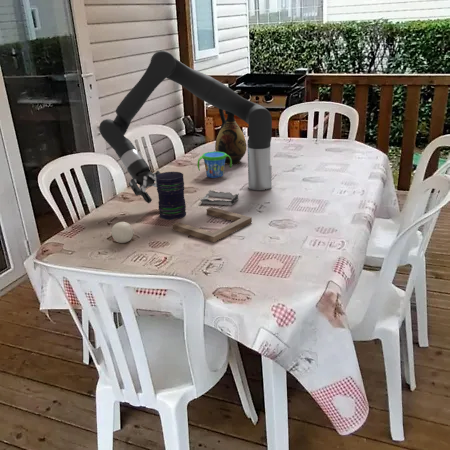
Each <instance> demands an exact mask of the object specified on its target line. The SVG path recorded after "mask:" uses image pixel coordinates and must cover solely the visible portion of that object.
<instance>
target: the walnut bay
mask: <svg viewBox="0 0 450 450" xmlns="http://www.w3.org/2000/svg"><path fill="white" fill-rule="evenodd" d="M206 215H209V216H212V217H217V218H219V219H223V220H227V221H230V220H232V221H231V223H229V224H227V225H225V226H223V227H221V228H218V229H217V230H215V231H213V232H212V231H209V230H205V229H203V228H200V227H195V226H192V225H189V224H186V223H183V222H179V221H177V222H174V223H173V224H171V226H172V230H173V231H176V232H179V233H181V234H185V235H188V236H192V237H195V238H198V239H201V240H204V241H207V240H208V241H207V242H210V241H211V243H213V242H214V243H216V242H218V241H220V240H222V239H223V237H224V238H226V237H228V236H230V235H231V234H233V233H235V232H237V231H239V230H241V229H242V227H243V228H245V227H246V225H247V226H249V225H251V224H252V223H253V222H252V220H253V219H252V217H251V216H248V215H245V214H240V213H236V212H232V211H228V210H224V209H221V208H217V207H214V206H210V207H208V208H207V209H206ZM234 221H235V222H234ZM251 222H252V223H251ZM248 224H249V225H248ZM244 226H245V227H244ZM240 228H241V229H240ZM238 229H239V230H238ZM236 230H237V231H236ZM234 231H235V232H234ZM232 232H233V233H232ZM230 233H231V234H230ZM229 234H230V235H229ZM227 235H228V236H227ZM225 236H226V237H225ZM221 238H222V239H221ZM219 239H220V240H219ZM217 240H218V241H217Z"/></svg>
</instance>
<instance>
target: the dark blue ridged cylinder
mask: <svg viewBox="0 0 450 450" xmlns="http://www.w3.org/2000/svg"><path fill="white" fill-rule="evenodd" d="M156 179H157V180H156V181H155V183H156V182H157V183H156V185H157V187H156V191H157V195H158V211H159V212H158V213H159V217H160V219H163V220H167V221H175V220H178V219H182V218H184V217H186V215H187V212H186V210H187V209H186V207H187V206H186V205H187V204H186V199H185V191H184V190H185V181H184V173H183V172H180V171H165V172H160V174H158V175H156Z"/></svg>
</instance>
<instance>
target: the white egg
mask: <svg viewBox="0 0 450 450" xmlns="http://www.w3.org/2000/svg"><path fill="white" fill-rule="evenodd" d="M110 232H111V237H112V238H113V240H114V242H117V243H119V244H125V243H128V242H130V241H131V239H133V237H134V228H133V226H132V224H130V223H129V222H125V221H119V222H116V223H114V224H113V225H112V227H111V230H110Z"/></svg>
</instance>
